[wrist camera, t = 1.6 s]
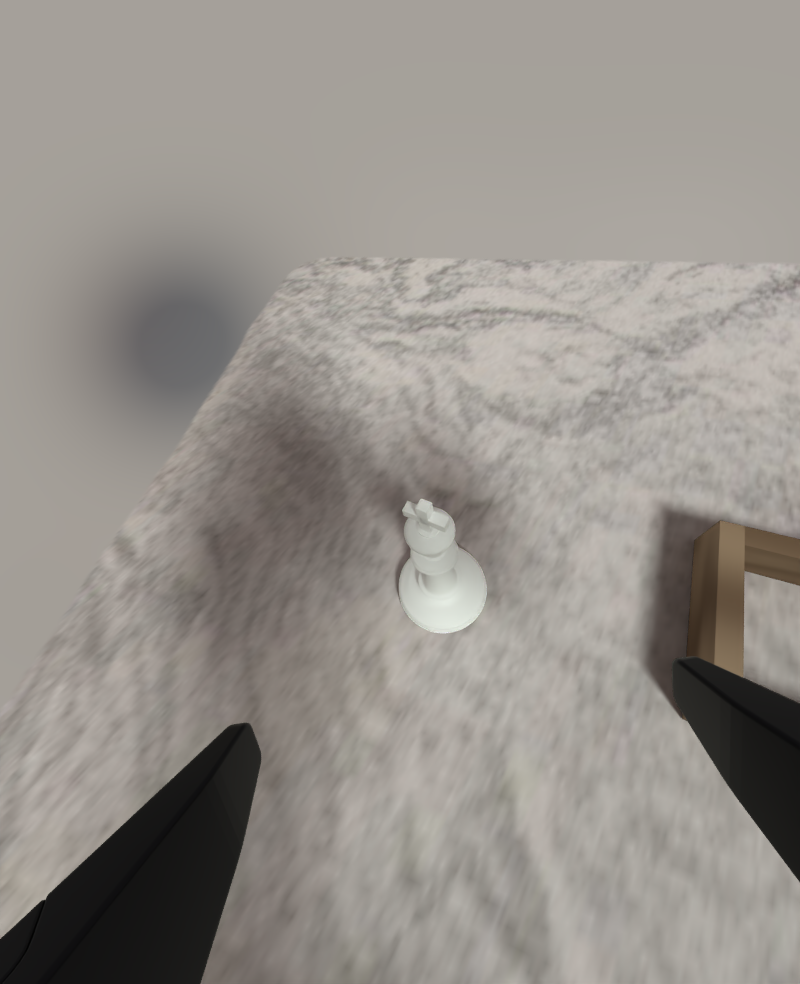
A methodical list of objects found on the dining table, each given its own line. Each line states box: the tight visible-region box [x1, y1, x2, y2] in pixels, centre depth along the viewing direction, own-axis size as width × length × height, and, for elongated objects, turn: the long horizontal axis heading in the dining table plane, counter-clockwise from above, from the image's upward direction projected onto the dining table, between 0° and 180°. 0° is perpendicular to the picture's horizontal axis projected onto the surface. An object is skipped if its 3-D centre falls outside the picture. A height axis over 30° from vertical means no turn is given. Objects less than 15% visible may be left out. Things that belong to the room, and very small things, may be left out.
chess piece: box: [399, 499, 487, 633], centre depth 18 cm, size 5×5×10 cm
